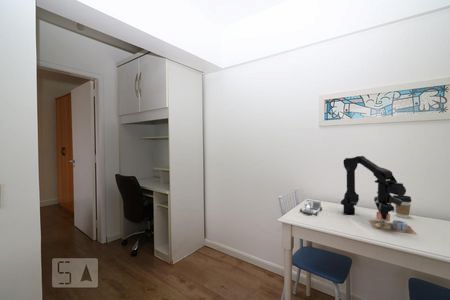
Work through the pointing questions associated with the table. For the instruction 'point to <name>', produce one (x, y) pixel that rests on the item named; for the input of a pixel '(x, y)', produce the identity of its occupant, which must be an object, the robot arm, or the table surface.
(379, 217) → the gear
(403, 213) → the coffee cup
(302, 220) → the table surface
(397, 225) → the gear
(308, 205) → the phone holder
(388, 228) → the gear board
